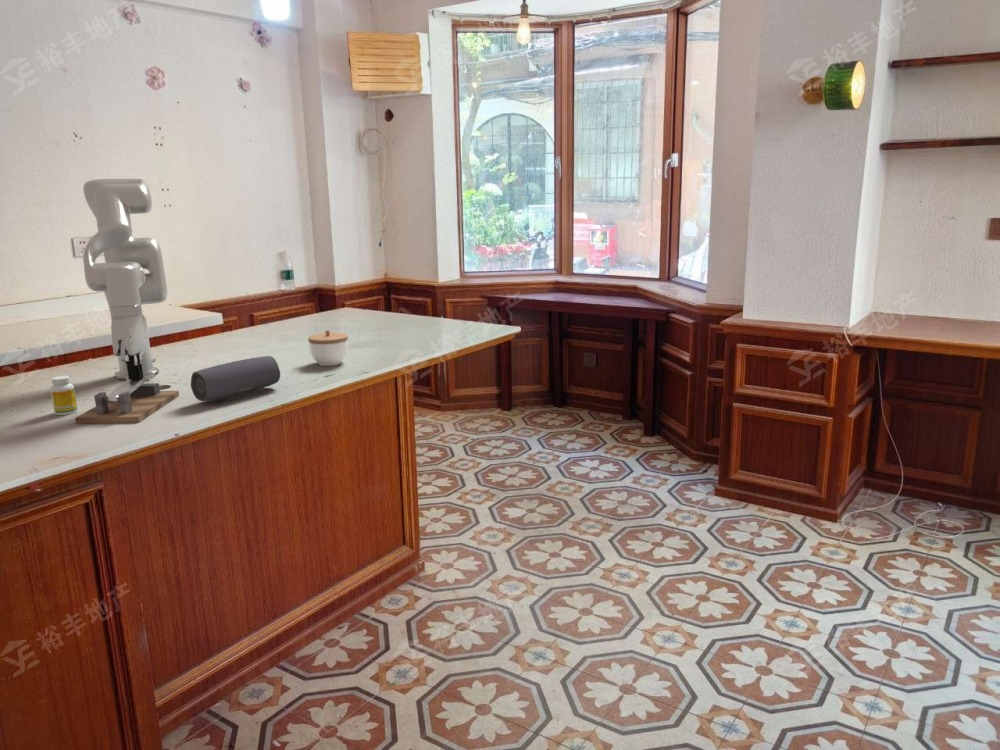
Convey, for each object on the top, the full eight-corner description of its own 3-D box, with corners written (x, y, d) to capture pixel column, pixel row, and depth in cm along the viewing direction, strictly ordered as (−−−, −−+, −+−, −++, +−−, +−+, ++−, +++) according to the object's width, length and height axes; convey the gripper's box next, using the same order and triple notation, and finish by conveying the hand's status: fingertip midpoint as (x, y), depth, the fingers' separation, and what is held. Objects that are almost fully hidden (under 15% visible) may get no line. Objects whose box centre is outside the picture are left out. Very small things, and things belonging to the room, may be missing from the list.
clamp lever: (133, 377, 205) (132, 372, 204) (155, 377, 205) (154, 371, 204) (100, 403, 187) (98, 397, 187) (123, 403, 187) (122, 397, 187)
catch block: (135, 393, 206) (133, 383, 206) (160, 392, 206) (158, 383, 206) (130, 396, 203) (128, 386, 203) (155, 395, 203) (154, 386, 203)
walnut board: (122, 397, 208) (119, 374, 207) (179, 395, 208) (176, 373, 207) (75, 423, 185) (71, 398, 183) (139, 422, 185) (135, 397, 183)
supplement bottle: (51, 413, 194) (45, 377, 192) (74, 408, 198) (68, 373, 196) (58, 417, 191) (52, 381, 188) (81, 412, 195) (75, 377, 192)
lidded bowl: (340, 368, 236) (337, 334, 233) (303, 367, 238) (300, 334, 236) (355, 359, 248) (353, 327, 245) (320, 358, 250) (317, 326, 248)
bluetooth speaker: (264, 385, 218) (261, 352, 215) (283, 389, 212) (279, 356, 210) (191, 402, 201) (187, 367, 199) (209, 408, 195) (205, 372, 193)
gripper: (125, 308, 202) (135, 372, 207) (97, 316, 188) (108, 386, 192) (153, 307, 202) (162, 372, 207) (126, 315, 188) (137, 385, 192)
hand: (136, 378), depth 199 cm, fingers closed
